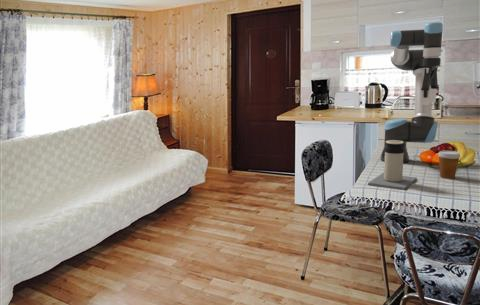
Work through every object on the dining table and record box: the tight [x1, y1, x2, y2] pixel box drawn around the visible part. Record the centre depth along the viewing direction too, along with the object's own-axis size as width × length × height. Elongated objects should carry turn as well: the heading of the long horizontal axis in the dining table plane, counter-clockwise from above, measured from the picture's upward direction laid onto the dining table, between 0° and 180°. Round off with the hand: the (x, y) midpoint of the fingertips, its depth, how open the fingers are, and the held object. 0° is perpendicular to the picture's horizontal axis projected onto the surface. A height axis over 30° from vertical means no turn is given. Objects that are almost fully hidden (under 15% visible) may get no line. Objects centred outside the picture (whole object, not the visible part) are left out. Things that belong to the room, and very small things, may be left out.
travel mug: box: [383, 140, 404, 182], centre depth 192 cm, size 8×8×18 cm
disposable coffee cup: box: [437, 150, 461, 180], centre depth 198 cm, size 10×10×12 cm
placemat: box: [367, 172, 417, 191], centre depth 193 cm, size 20×16×1 cm
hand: (429, 103), depth 198 cm, fingers open, 13 cm apart
